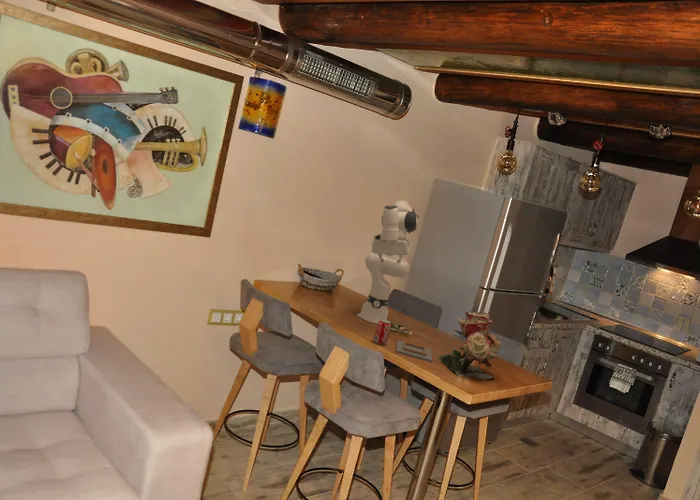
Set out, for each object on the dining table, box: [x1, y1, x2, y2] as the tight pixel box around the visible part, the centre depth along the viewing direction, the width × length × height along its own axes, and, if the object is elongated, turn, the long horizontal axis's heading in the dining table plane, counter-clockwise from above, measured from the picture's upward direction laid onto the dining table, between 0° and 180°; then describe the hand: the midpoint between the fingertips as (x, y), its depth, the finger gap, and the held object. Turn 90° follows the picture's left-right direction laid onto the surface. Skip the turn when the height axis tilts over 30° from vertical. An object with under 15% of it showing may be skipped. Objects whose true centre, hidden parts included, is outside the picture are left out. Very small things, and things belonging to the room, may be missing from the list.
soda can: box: [373, 319, 392, 346], centre depth 315 cm, size 7×7×12 cm
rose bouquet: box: [437, 311, 502, 380], centre depth 306 cm, size 26×29×30 cm
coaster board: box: [395, 340, 433, 363], centre depth 316 cm, size 20×18×2 cm
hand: (390, 262), depth 327 cm, fingers open, 8 cm apart
